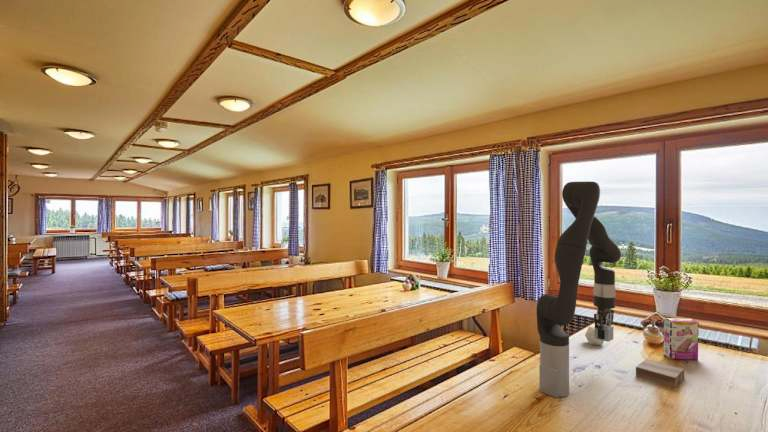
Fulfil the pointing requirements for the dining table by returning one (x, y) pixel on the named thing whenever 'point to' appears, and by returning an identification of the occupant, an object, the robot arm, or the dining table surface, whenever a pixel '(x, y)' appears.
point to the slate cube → (606, 333)
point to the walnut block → (660, 373)
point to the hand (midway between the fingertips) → (603, 337)
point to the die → (592, 337)
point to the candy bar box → (680, 338)
